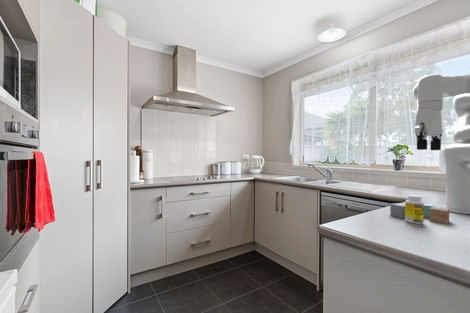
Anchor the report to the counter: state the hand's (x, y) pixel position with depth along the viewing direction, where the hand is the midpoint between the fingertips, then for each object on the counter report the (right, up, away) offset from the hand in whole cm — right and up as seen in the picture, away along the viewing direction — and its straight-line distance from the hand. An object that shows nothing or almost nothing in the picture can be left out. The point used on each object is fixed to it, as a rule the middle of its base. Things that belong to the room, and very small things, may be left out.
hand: (428, 149), depth 88 cm
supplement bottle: (-9, -28, -4) cm, 30 cm away
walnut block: (+3, -28, -2) cm, 28 cm away
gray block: (-8, -28, +5) cm, 30 cm away
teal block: (+4, -28, +5) cm, 29 cm away
